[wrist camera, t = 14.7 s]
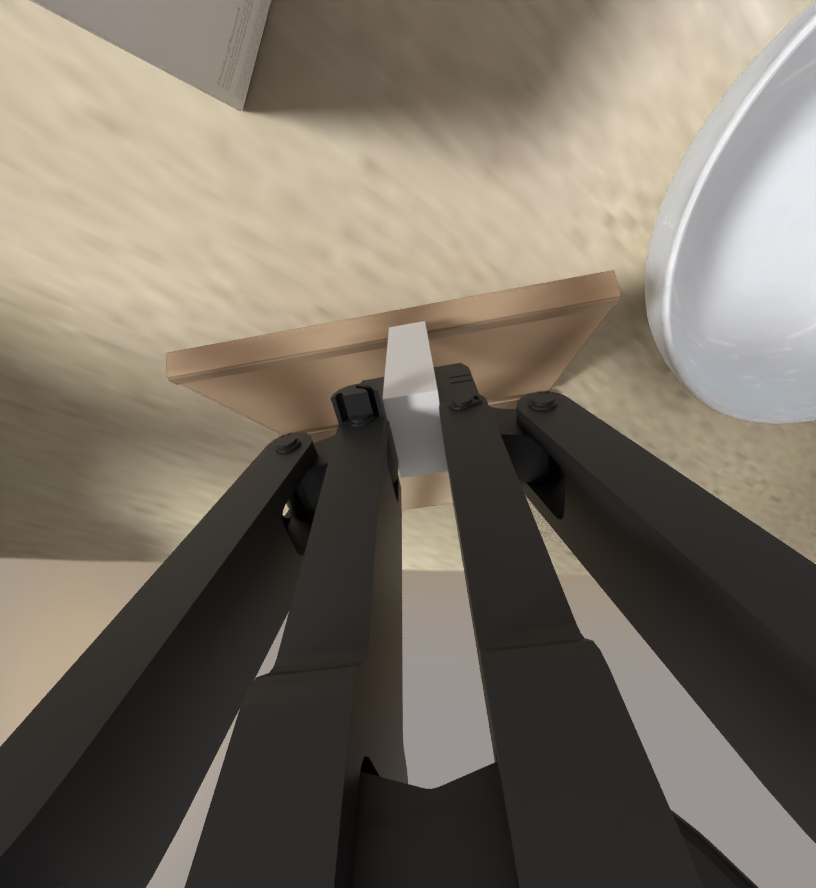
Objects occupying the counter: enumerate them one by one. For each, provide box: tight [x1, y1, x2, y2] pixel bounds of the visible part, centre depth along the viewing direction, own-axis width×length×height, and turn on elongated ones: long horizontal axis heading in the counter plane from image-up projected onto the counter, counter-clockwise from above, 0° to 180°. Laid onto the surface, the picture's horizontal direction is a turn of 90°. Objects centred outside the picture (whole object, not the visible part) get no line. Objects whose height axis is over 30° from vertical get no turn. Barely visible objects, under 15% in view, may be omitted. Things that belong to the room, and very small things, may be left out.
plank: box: [166, 270, 621, 434], centre depth 23 cm, size 20×12×1 cm
